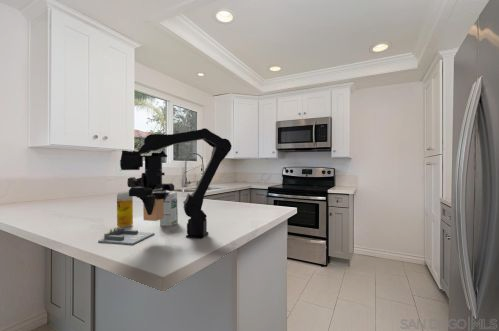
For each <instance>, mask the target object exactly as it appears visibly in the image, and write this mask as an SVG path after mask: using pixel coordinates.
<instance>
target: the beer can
mask: <svg viewBox="0 0 499 331" xmlns="http://www.w3.org/2000/svg"><path fill="white" fill-rule="evenodd" d="M133 197H134V196H129V191H119V192H117V194H116V226H117V227H119V229H120V228H124V229H126V228H130V227H132V225H133V224H134V221H133V219H134V216H133V215H134V213H133V212H134V211H133V209H134V208H133V203H134V202H133Z"/></svg>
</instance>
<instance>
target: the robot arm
mask: <svg viewBox="0 0 499 331" xmlns="http://www.w3.org/2000/svg"><path fill="white" fill-rule="evenodd" d="M200 140H202V141H203V142H205V143H206V144H208V145H209V146H210V147H212V151H211V154H210V159H209V161H208V163H207V165H206V167H205V169H204V172H203V173H202V176H200V177H201V178H200V179H199V181H198V184H197V186H196V187H195V188H194V189H195V190H194V191H193V192H192V193H191V194H190V193H187V195H186V198H185V200H184V201H183V211H184V213H185V215H186V216H187V217H188V218H189V219H188V220H187V223H186V235H185V237H186V238H190V239H191V238H194V239H203V238H204V237H206V236H207V235H208V234H209V231H207V229H208V228H207V224H208V223H207V221H208V220H207V217H208V216H207V214H206V213H205V211H204V210H202V207H203V205H204V204H203V203H204V198H205V195H206V193H207V191H208V189H209V187H210V185H211V182H212V180H213V178H214V177H215V175H216V173H217V170H218V168H219V167H220V165H221V163H222V161H223V160H224V159H225V158H226V157H227V156H228V154H229V153H230V151H231V150H232V143H231V142H230V140H229V139H227V138H223V137H221V136H220V135H218V134H216V133H214V132H212V131H211V130H209V129H208V128H200V129H196V130H190V131H184V132H183V131H182V132H178V133H172V134H165V133H150V134H148V135H146V137H145V138H144V142H143V145H142V146H141V147H140V148H139V150H138V151H137V150H131V151H130V150H121V155H120V156H121V157H120V160H119V165H120V171H141V168H143V167H144V172H141V177H139V178H136V177H134V176H132V177H129V178H127V187H128V188H129V189H128V192H129V196H133V197H136V198H139V200H141V202H142V203H144V206H145V208H146V211H147V214H148V215H151V214H152V211H153V206H154V202H155V199H164V201H165V199H166V197H167V196H168V194H169V192H175V185H174V184H173V183H172V182H171V183H163V176H165V172H163V158H167V157H168V155H167V154H166V153H165V152H164V150H162V149H166V148H168V147H171V146H174V145H178V144H185V143H192V142H197V141H200ZM157 151H161V152H157ZM150 153H151V155H147V154H150Z"/></svg>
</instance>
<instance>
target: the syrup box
mask: <svg viewBox="0 0 499 331" xmlns="http://www.w3.org/2000/svg"><path fill="white" fill-rule="evenodd" d="M168 192H169V194H168V196H167V197H166V199H165V201H164V218H162V219H160V220H159V225H160V226H162V227H172V226H174V225H176V224H178V221H179V220H178V217H179V216H178V192H177V191H168Z"/></svg>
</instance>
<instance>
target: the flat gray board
mask: <svg viewBox="0 0 499 331" xmlns="http://www.w3.org/2000/svg"><path fill="white" fill-rule="evenodd" d="M155 234H156V233H155V232H145V231H144V232H143V231H139V230H137V229H126V228H119V227H118V226H117V228H116V227H113V229H112V228H111V229H109V232H105V233H104V236H103V238H101V239H99V240H98V241H97V243H103V244H114V245H115V244H116V245H129V246H135V245H136V244H138V243H140V242H142V241H144V240H146V239H148V238H150V237H152V236H154V235H155Z"/></svg>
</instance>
